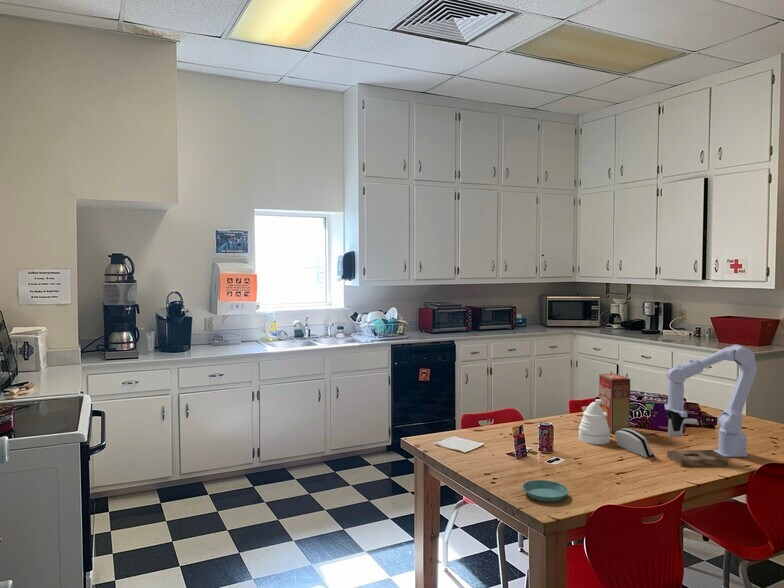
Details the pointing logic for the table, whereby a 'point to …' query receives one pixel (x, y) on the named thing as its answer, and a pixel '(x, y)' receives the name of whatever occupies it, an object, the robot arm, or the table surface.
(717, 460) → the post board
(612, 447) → the table surface
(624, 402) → the food packaging
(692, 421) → the bracket
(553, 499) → the saucer
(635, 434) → the napkin holder
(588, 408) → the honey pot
